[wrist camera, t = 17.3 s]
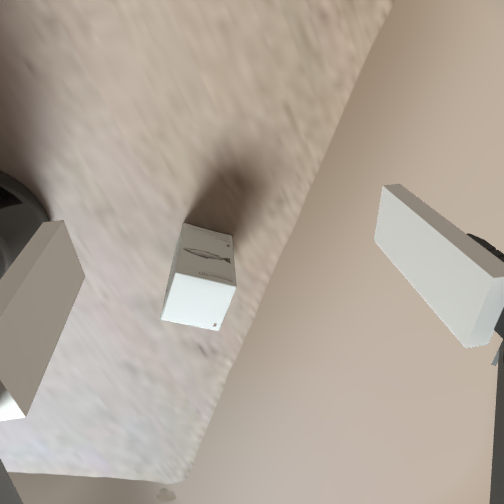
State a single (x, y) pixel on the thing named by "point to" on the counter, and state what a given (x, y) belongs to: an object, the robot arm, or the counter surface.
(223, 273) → the supplement box
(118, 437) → the counter surface
